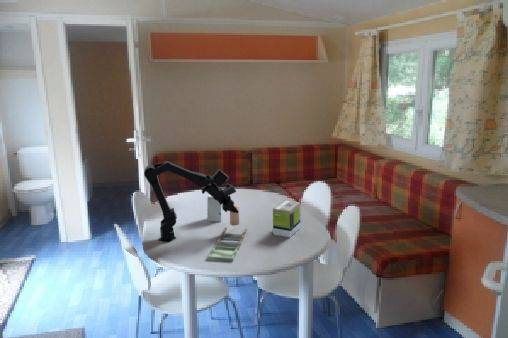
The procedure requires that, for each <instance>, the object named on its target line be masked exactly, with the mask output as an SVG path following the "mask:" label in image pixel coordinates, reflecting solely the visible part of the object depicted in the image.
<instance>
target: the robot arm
mask: <svg viewBox="0 0 508 338" xmlns="http://www.w3.org/2000/svg"><path fill="white" fill-rule="evenodd" d="M166 172H170V173H172V174H175V175H178V176H179V177H183V178H184V179H187V180H189V181H191V182H192V183H193V184H194V185H196V186H198V187H199V188H201V193H202V195H204V194H206V193H207V194H208V195H209V194H210V195H211V196H212V197H213V198H214V199H215V200H217V201H218V202H219V204H220V205H222V204H223V205H222V208H223V211H224V212H225V213H227V212H230V211H231V212H235V213H238V212H239V213H240V210H239V211H238V210H237V209H236V207H235V206H234V204H235V202H234V200H233V199H232V198H231V195H232V194H235V193H236V192H237V189H235V186H234V184H229V183H226V182H227V181H228V180H229V179H230V177H229V176H228V175H227V174H226V173H225V172H223V171H222V170H221V169H218V170H217V171H216V172H214V175H207V174H205V173H203V172H197V171H191V170H189V169H186V168H183V167H182V166H179V165H177V164H175V163H172V162H170V161H164V162H161V163H156V164H154V165H152V164H149V165H148V164H147V166H145V168H144V173H143V174H144V177H145V179H146V180H147V182H148V183H149V185H151V186H150V187H152V190H153V192H154V194H155V197H156V199H157V201H158V204H159V206H160V208H161V211H162V217H163V218H162V220H161V221H160V228H159V230H160V231H159V232H160V237H159V238H158V241H161V242H165V243H169V242H171V241H173V240H175V239H177V237H176V236H175V231H174V226H175V225H176V223H177V219H178V217H177V213H176V211H175V208H174V207H170V205H169V203H168V201H167V198H166V196H165V194H164V191H163V189H162V186H161V184H160V180H159V175H162V174H163V173H166ZM225 183H226V184H225ZM224 184H225V187H224V188H221V186H223V185H224Z"/></svg>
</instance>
